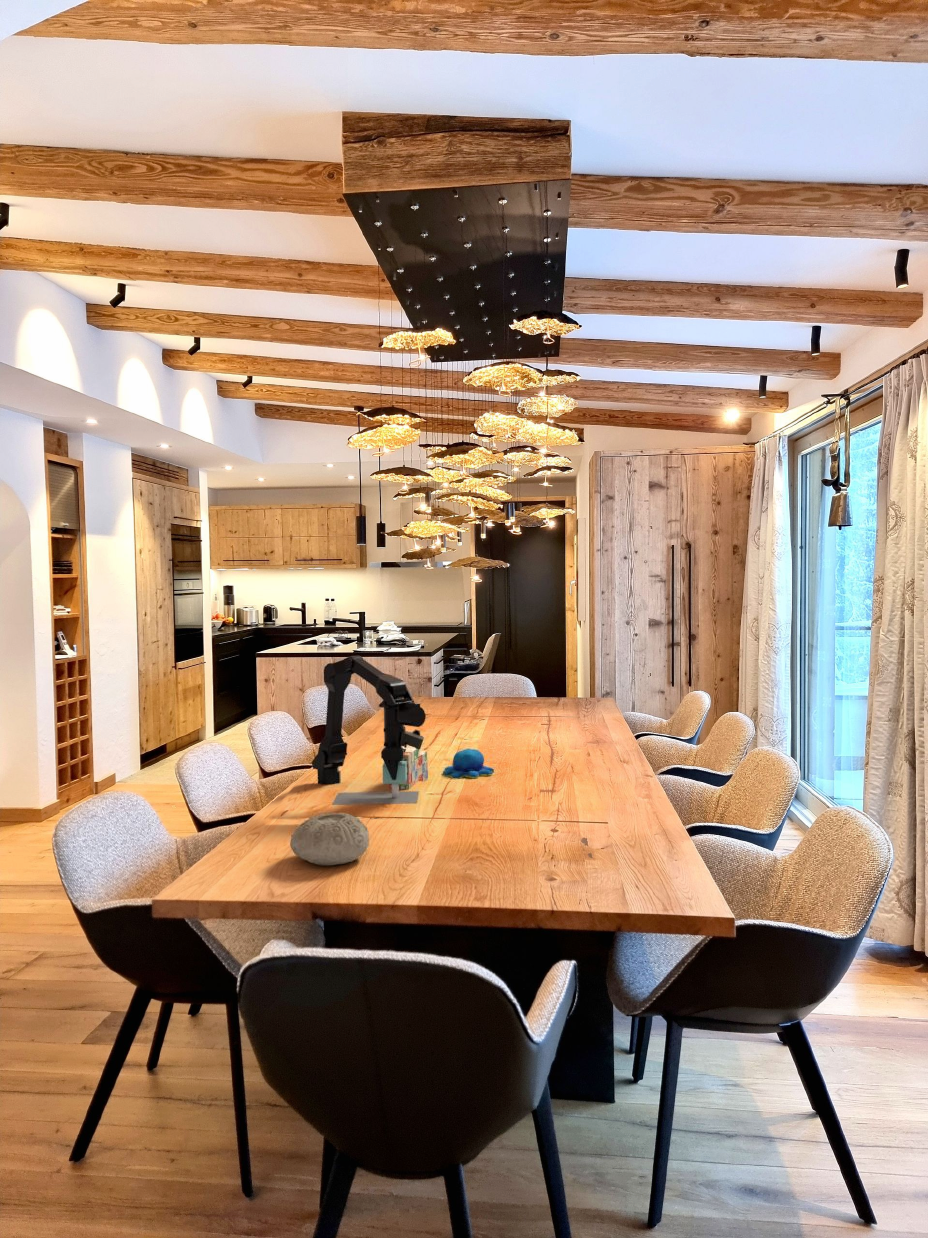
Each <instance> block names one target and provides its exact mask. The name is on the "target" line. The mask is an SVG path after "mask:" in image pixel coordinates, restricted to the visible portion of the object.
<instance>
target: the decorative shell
mask: <svg viewBox="0 0 928 1238" xmlns="http://www.w3.org/2000/svg"><path fill="white" fill-rule="evenodd" d="M290 836H291V837H290V840H289V846H290V850H291V851H292V852H293V853H294V855H295V856H297V857H298V858H301V859H302V860H304V861H305V860H306V861H308V862H309V863H312V864H315V865H319V866H336V865H345V864H347V863H349V862H350V863H351V862H353V861H355V860H358V858H359V857H361V856H363V855H364V854H365V853H366V852H367V849H368V848H369V847H370V835H369V830H368V827H366V825H365V824H364V822H362V821H361V819H360V818H359V817H356V816H355V815H354V816H353V815H352V814H350V813H345V812H340V811H339V812H336V813H333V812H332V813H327V812H325V813H321V814H318V815H314V816H310V818H308V819H306V820H304V821H303V822H302V823H300V824H298V826H296V827H295V830H294V831H293V832H292V834H291V835H290Z"/></svg>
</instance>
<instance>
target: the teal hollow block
mask: <svg viewBox="0 0 928 1238" xmlns="http://www.w3.org/2000/svg"><path fill="white" fill-rule="evenodd" d="M406 779H407V761H400V762H399V765H398V771H397V777H396V780H392V778H391V776H390V774H389V771H388V769H387V767H386V765H385V763H384V762H383V763H382V784H390V783H406Z"/></svg>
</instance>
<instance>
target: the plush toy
mask: <svg viewBox="0 0 928 1238" xmlns="http://www.w3.org/2000/svg"><path fill="white" fill-rule="evenodd" d="M484 763H485V756H484V755H483V753H482V752H481V751H480V750H478V749H474V748H473V749H472V748H464V749H463V750H459V751H457V752H456V753H455V754H454V755H453V759H452V765H448V766H446V767H445V768H444V770H443V771H442V776H444V775H450V779H453V778H458V779H462V778H464V777H465V778H470V779H478V778H479V776H481V777H487V776H491V775H492V776H493V773H495V769H494V768H492V767H489V766H485V765H484ZM461 777H462V778H461Z"/></svg>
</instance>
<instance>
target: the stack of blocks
mask: <svg viewBox="0 0 928 1238" xmlns="http://www.w3.org/2000/svg"><path fill="white" fill-rule="evenodd" d="M401 747H402V748H403V749H406V751H405V752H404V758H403V759H402V760H401V761H407V779H406V783H399V790H400V789H401V790H410V789H411V788H413V786H415V785H416V784H418V782H425V781H427V780H428V779H427V778H429V767H428V766H429V765H428V764H429V762H428V750H420V749H416V748H415V747H412V746H407V747H406V748H404V746H401ZM426 779H427V780H426ZM389 789H392V783H389Z"/></svg>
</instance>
